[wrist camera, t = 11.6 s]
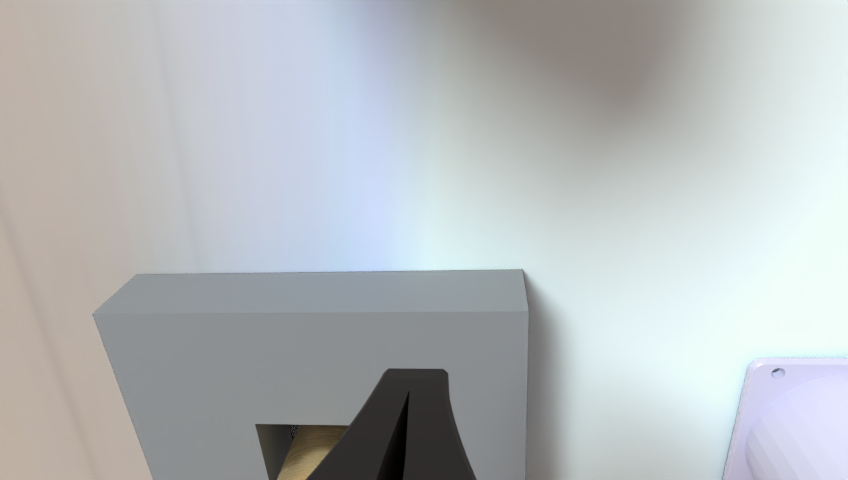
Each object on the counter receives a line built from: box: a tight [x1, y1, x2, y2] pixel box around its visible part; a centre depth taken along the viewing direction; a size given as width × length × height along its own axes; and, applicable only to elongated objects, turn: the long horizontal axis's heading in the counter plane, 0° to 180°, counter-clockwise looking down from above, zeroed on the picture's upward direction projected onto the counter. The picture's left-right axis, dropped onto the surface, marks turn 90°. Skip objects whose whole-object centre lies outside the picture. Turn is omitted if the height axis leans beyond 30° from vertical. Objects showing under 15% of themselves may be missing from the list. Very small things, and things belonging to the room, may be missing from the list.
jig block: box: [92, 270, 529, 480], centre depth 25 cm, size 16×16×3 cm
